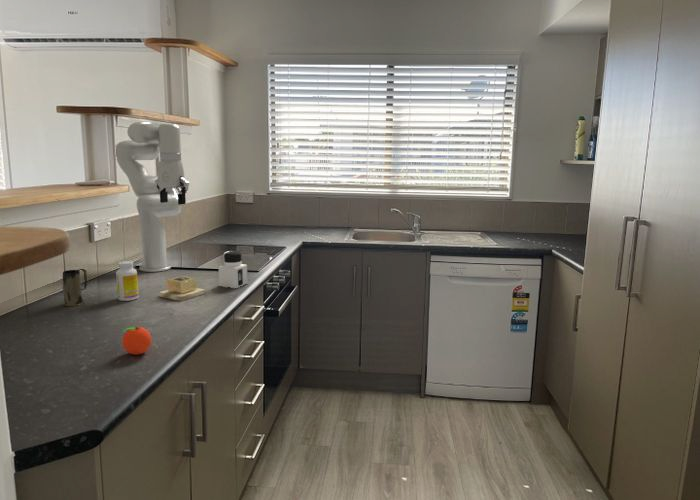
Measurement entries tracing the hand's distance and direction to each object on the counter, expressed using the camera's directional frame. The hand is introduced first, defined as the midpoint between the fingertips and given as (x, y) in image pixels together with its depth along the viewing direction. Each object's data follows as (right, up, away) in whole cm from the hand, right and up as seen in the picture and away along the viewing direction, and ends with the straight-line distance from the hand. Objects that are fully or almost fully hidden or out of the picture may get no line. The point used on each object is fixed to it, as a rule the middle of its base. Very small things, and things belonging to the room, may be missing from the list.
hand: (172, 203), depth 204 cm
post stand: (+8, -34, -15) cm, 38 cm away
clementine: (+13, -44, -67) cm, 82 cm away
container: (+23, -31, -1) cm, 39 cm away
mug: (-23, -36, -26) cm, 50 cm away
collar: (+8, -32, -15) cm, 36 cm away
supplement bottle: (-9, -35, -20) cm, 41 cm away
